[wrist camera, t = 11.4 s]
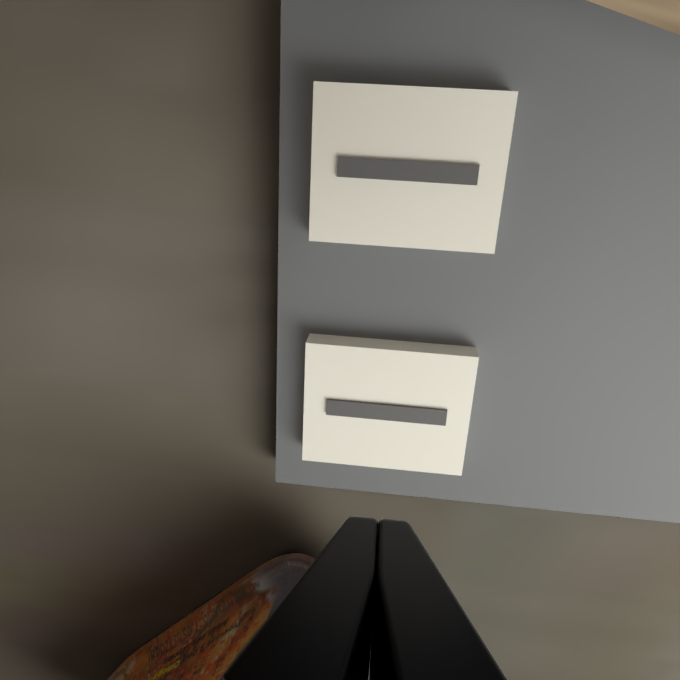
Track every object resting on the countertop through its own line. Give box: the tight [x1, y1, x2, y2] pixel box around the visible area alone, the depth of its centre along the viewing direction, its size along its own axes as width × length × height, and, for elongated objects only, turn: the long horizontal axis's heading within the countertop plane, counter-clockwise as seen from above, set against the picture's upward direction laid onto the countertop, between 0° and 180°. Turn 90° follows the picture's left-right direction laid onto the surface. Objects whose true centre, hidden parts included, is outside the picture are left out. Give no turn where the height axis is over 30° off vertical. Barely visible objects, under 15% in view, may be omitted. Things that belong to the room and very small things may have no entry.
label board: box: [276, 0, 680, 523], centre depth 15 cm, size 14×18×5 cm
